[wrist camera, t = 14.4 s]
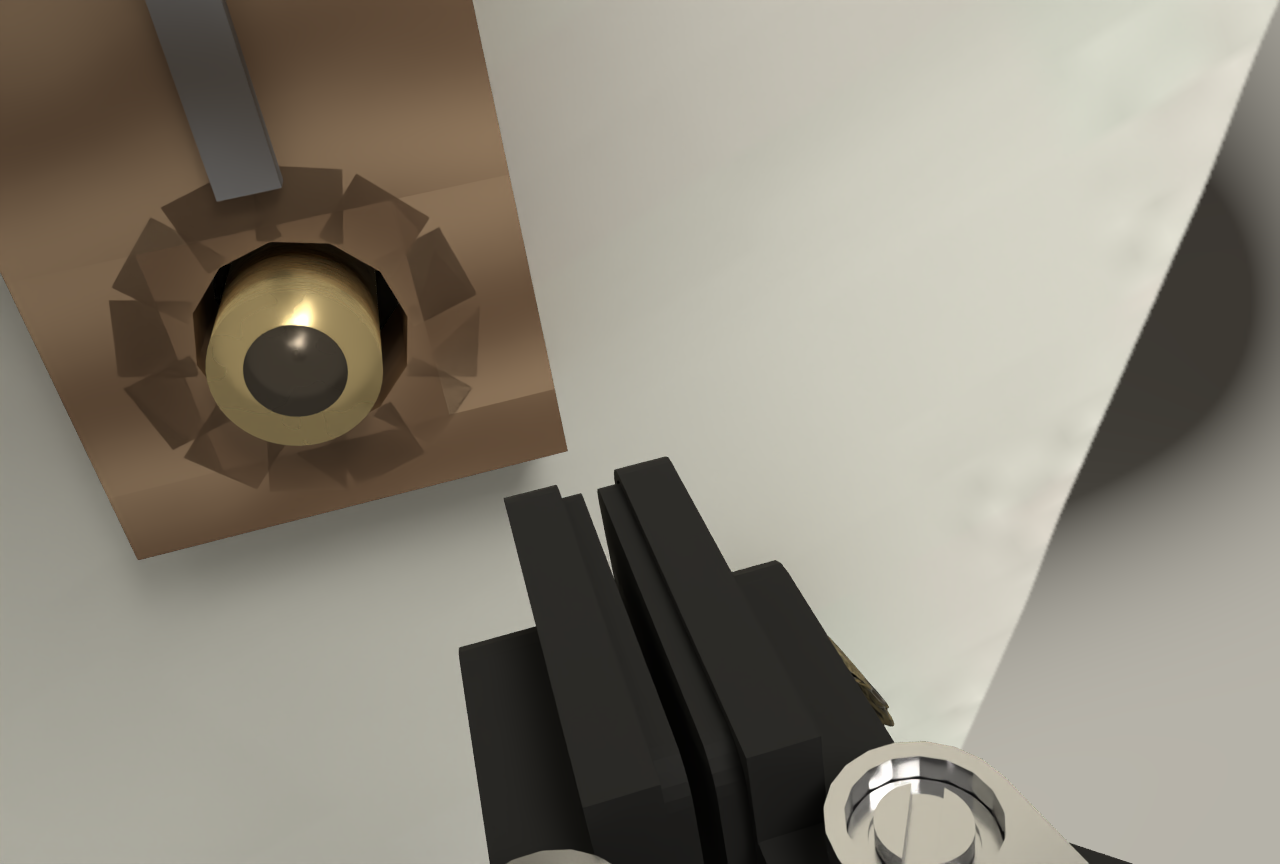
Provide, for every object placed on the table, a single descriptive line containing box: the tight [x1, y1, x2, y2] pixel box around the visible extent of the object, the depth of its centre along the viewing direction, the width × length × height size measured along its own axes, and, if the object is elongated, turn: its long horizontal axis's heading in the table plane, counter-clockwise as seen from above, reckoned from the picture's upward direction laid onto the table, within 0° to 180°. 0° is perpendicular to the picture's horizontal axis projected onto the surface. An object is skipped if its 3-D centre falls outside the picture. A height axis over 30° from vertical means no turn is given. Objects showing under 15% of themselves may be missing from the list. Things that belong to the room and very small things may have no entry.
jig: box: [0, 0, 568, 560], centre depth 30 cm, size 18×13×6 cm
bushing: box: [206, 242, 383, 446], centre depth 31 cm, size 4×4×7 cm
